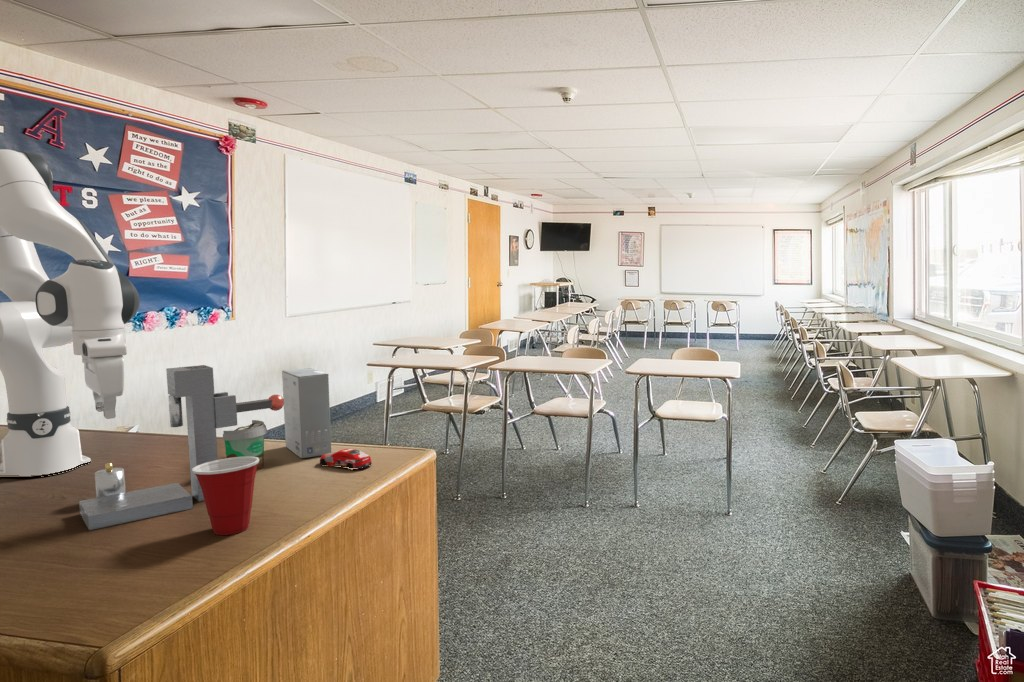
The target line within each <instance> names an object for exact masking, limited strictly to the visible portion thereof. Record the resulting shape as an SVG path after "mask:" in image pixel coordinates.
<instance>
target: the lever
mask: <svg viewBox="0 0 1024 682" xmlns="http://www.w3.org/2000/svg"><path fill="white" fill-rule="evenodd" d="M282 408H284V399H283V396H282V395H279V394H272V395H270V396H269V397H268V398H264V399H258V400H257V399H256V400H251V401H249V400H248V401H243V402H242V401H241V402H240V401H239V402H236V409H237V414H239V413H244V412H250V411H252V412H253V411H258V410H267V409H269V410H271V411H274V412H275V411H276V412H277V411H280V410H282Z"/></svg>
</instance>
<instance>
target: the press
mask: <svg viewBox="0 0 1024 682" xmlns="http://www.w3.org/2000/svg"><path fill="white" fill-rule="evenodd" d="M165 371H166V384H167V395H168V398H167V399H168V409H169V410H168V412H169V425H170V426H169V427H170V428H179V427H183V426H184V420H183V419H184V418H183V407H182V405H183V404H182V398H183V397H184V398H185V411H186V412H185V413H186V427H187V440H188V456H189V472H190V488H191V493H190V492H188V490H186V489H185V488H184V487H183V486H182V485H180V483H179V482H174V483H168V484H162V485H158V486H157V485H156V486H152V487H147V488H141V489H135V490H131V491H126V492H125V493H120V494H114V495H109V496H104V497H98V498H97V497H93V498H90V499H84V500H79V501H78V504H79V505H78V506H79V515H80V514H81V515H80V517H81V516H82V517H81V518H82V520H83V522H84V523H85V525H86V528H87V529H88V530H89V531H94V530H98V529H103V528H106V527H112V526H117V525H120V524H121V525H122V524H125V523H130V522H131V523H132V522H137V521H139V520H144V519H150V518H153V517H159V516H163V515H168V514H173V513H179V512H183V511H187V510H191V509H193V508H194V505H193V498H194V499H195V500H196V501H197V502H205V500H204V496H203V492H202V489H201V486H200V483H199V481H198V478H197V477H196V475H195V473H193V471H192V468H194V467H196V466H198V465H201V464H204V463H207V462H211V461H215V460H219V457H218V441H217V429H221V428H228V427H235V426H238V413H237V409H236V403H237V397H236V394H235V395H234V394H231V395H229V393H228V391H223V392H216V393H215V379H214V368H213V367H211V366H209V365H205V364H201V365H190V366H189V365H188V366H179V367H170V368H165Z"/></svg>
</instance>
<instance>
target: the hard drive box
mask: <svg viewBox="0 0 1024 682" xmlns="http://www.w3.org/2000/svg"><path fill="white" fill-rule="evenodd" d="M281 375H282V376H281V377H282V378H281V379H282V395H283V396H282V398H283V399H284V406H283V416H284V417H283V418H284V434H285V437H284V439H285V447H286V448H287V449H289V451H292V453H294V454H295V455H296V456H297V457H298V458H300V459H306V458H311V457H312V458H313V457H320V456H322V455H324V454H327V453H332V452H333V451H332V432H331V431H332V429H331V406H330V403H331V402H330V385H329V383H330V381H329V376H330V375H329V373H327V372H324V371H321V370H318V369H314V368H307V367H306V368H298V369H297V368H296V369H286V370H285V369H284V370H282V371H281Z"/></svg>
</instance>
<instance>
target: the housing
mask: <svg viewBox="0 0 1024 682" xmlns="http://www.w3.org/2000/svg"><path fill="white" fill-rule="evenodd" d="M104 465H105V468H103V469H100V470H97V471H95V472H94V483H95V493H96V494H95V495H96V498H98V497H104V496H109V495H114V494H120V493H125V492H127V491H126V480H125V469H124V468H123V467H113V463H112V462H107V463H105V464H104Z"/></svg>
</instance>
